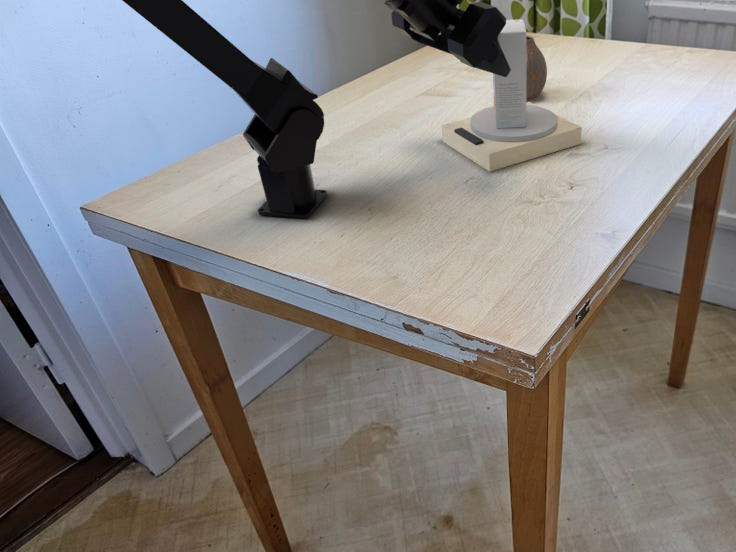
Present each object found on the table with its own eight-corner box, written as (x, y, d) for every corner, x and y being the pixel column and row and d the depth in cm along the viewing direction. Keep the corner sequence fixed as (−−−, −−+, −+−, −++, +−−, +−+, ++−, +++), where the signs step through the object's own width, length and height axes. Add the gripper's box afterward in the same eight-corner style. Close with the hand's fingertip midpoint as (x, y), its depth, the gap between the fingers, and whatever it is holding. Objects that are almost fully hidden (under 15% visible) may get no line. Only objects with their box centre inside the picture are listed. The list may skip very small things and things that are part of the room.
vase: (530, 106, 104) (531, 46, 98) (495, 98, 107) (493, 40, 101) (554, 93, 108) (556, 35, 102) (519, 86, 111) (519, 29, 105)
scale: (489, 171, 86) (489, 148, 84) (442, 141, 94) (440, 119, 92) (580, 144, 92) (582, 121, 90) (528, 117, 100) (529, 96, 98)
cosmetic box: (493, 113, 93) (491, 19, 86) (523, 111, 93) (524, 18, 86) (495, 129, 89) (492, 32, 81) (526, 128, 89) (527, 31, 81)
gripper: (489, -81, 66) (571, 23, 77) (403, -96, 78) (485, -5, 89) (425, 19, 68) (515, 106, 79) (352, -11, 80) (438, 67, 91)
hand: (487, 64), depth 85 cm, fingers open, 9 cm apart
